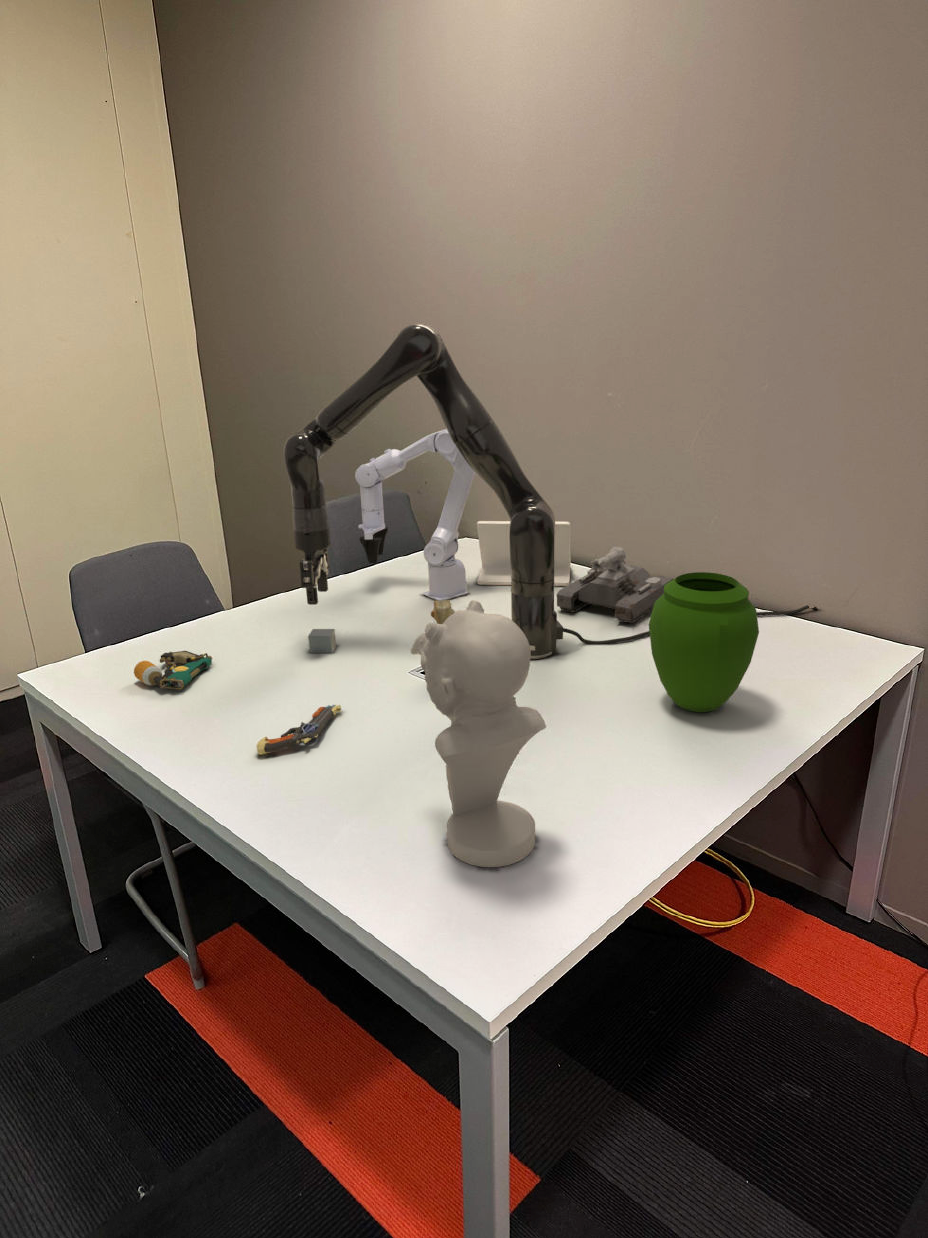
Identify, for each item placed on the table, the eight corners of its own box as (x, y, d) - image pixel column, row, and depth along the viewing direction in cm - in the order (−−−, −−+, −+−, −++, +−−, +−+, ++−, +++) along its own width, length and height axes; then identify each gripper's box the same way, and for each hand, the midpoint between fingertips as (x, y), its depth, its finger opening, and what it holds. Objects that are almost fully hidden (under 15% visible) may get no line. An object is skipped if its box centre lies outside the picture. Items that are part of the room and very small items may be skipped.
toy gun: (251, 744, 146) (305, 742, 144) (292, 702, 164) (341, 700, 162) (254, 759, 147) (308, 756, 145) (295, 715, 165) (344, 713, 163)
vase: (763, 694, 164) (775, 574, 156) (734, 737, 149) (746, 606, 140) (665, 674, 174) (672, 560, 166) (628, 712, 159) (634, 588, 150)
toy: (603, 584, 229) (605, 530, 224) (673, 597, 218) (677, 540, 213) (555, 612, 210) (556, 553, 205) (630, 627, 199) (633, 566, 194)
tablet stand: (569, 585, 229) (570, 524, 223) (476, 584, 232) (475, 523, 226) (570, 566, 246) (571, 508, 240) (484, 564, 249) (483, 507, 243)
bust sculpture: (481, 772, 140) (476, 569, 128) (565, 848, 120) (569, 617, 108) (392, 800, 134) (378, 588, 121) (465, 886, 114) (457, 642, 101)
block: (314, 645, 195) (312, 628, 193) (336, 645, 194) (334, 628, 193) (309, 652, 191) (308, 635, 189) (332, 652, 190) (330, 635, 189)
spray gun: (177, 659, 191) (231, 671, 185) (120, 684, 176) (176, 698, 171) (176, 641, 190) (230, 653, 184) (118, 665, 175) (174, 678, 169)
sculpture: (458, 662, 183) (456, 596, 178) (460, 676, 176) (457, 608, 171) (431, 663, 183) (428, 597, 177) (431, 677, 176) (428, 609, 171)
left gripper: (363, 502, 231) (366, 550, 236) (351, 515, 218) (355, 566, 222) (389, 502, 230) (392, 550, 235) (378, 515, 217) (381, 566, 222)
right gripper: (303, 518, 190) (310, 587, 195) (284, 534, 176) (292, 608, 182) (336, 517, 189) (342, 587, 195) (319, 534, 176) (326, 608, 181)
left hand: (375, 558), depth 229 cm, fingers open, 7 cm apart
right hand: (318, 597), depth 188 cm, fingers open, 8 cm apart
